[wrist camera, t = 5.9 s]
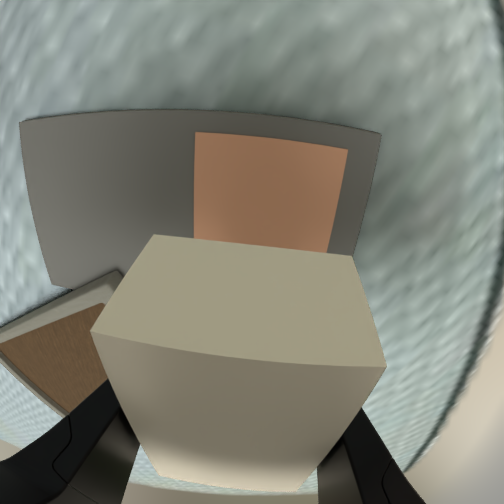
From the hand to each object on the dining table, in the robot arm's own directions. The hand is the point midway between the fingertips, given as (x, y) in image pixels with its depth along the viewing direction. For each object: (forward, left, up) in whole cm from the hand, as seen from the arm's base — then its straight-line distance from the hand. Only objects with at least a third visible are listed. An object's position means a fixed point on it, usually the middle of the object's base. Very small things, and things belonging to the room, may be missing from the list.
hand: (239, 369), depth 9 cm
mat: (0, -5, -9) cm, 10 cm away
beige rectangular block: (0, 0, -1) cm, 1 cm away
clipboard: (+18, -14, -9) cm, 24 cm away
